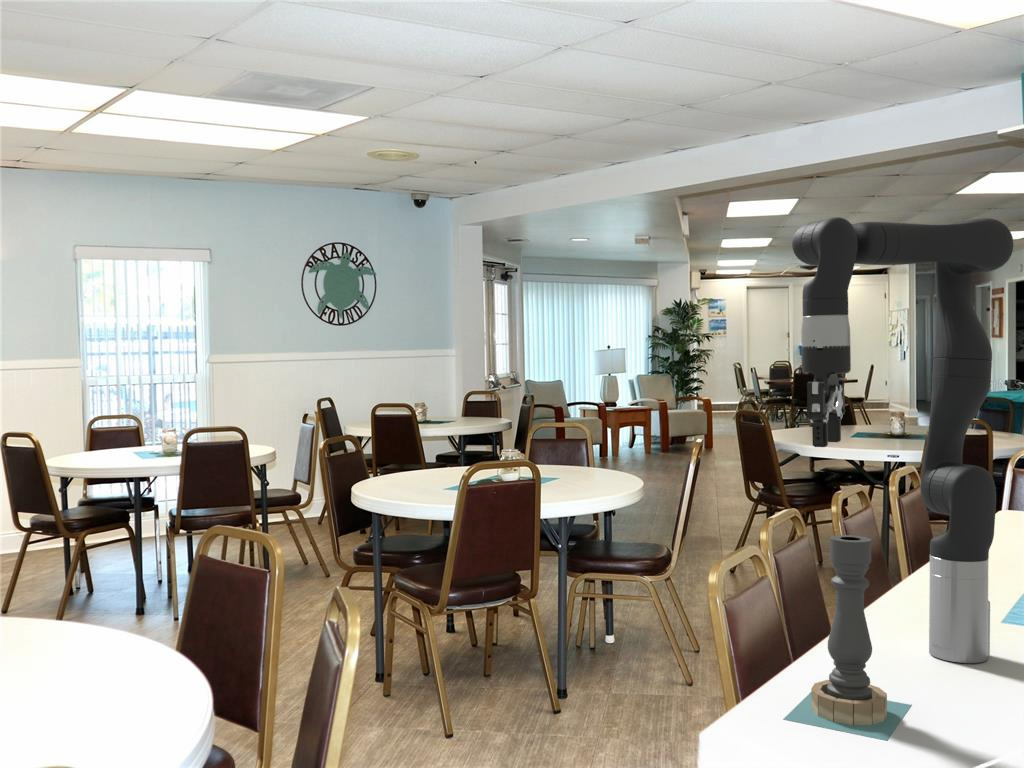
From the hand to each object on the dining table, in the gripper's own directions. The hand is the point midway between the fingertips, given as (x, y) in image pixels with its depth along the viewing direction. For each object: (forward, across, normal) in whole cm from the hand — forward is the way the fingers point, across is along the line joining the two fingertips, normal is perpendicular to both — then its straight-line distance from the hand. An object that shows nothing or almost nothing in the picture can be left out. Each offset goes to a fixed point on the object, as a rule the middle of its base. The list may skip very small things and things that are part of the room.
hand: (827, 444), depth 156 cm
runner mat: (+37, +17, +7) cm, 42 cm away
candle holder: (+37, +17, +7) cm, 41 cm away
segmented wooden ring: (+37, +17, +7) cm, 41 cm away
